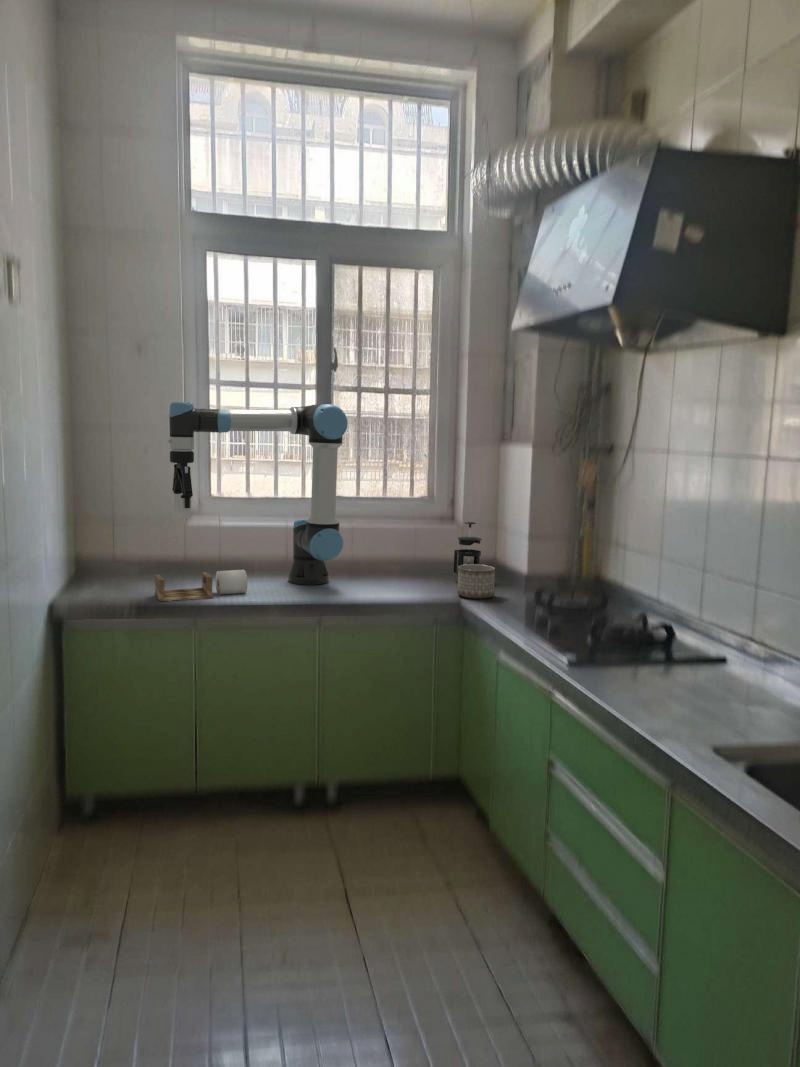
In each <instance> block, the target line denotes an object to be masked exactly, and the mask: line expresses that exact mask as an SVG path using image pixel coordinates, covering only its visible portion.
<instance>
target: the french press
mask: <svg viewBox="0 0 800 1067" xmlns="http://www.w3.org/2000/svg"><path fill="white" fill-rule="evenodd" d="M476 523H477V522H474V521H466V522H464V524H466V525H468V528H469V529H468V530H469V532H468V533H469V535H468V536H459V537H457V540H458V544H459V545H460V546H468V548H463V549H455V550H454V551H453V552H454V553H453V554H454V555H453V558H454V559H453V573H455V574H456V575H455V581H454V582H455V583H456V584H458V566H460V565H466V564H471V563H470V557H471V558H472V557H473V564H479V565H480V556H481V555H482V553H481V552H482V551H481V550H478V549H470V548H471V547H470V546H472V545H473V544H479V545H480V544H481V541H482V537H477V536H476V537H475V536H471V528H472V526H473V525H476ZM465 557H468V559H467V563H464V560H465V559H464V558H465Z"/></svg>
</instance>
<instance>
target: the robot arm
mask: <svg viewBox="0 0 800 1067" xmlns="http://www.w3.org/2000/svg"><path fill="white" fill-rule="evenodd" d="M168 418H169V439H168V440H167V443H169V449H170V451H169V462H170V463H172V464H173V479H172V480H173V481H172V489H171V490H172V492H173V514H176V515H177V514H181V517H182V518H181V519H192V497H193V496H194V494H193V486H192V477H191V466H188V464H193V463H194V462H195V452H194V451H193V450H194V449H195V434H194V433H218V434H220V433H221V434H222V433H229V432H289V433H290V434H292V435H303V436H308V444H309V445H310V447H311V448H312V466H311V467H312V470H311V472H312V473H311V498H310V499H311V501H310V502H311V505H310V506H311V508H310V517H308V518H307V519H296V520H295V521H294V522H293V528H292V531H293V533H292V535H293V537H292V538H293V540H292V542H293V543H292V550H293V552H292V563H291V566H290V569H289V572H288V576H287V582H289V583H290V584H296V585H309V586H310V585H312V586H313V585H314V586H315V585H324V584H327V583H330V573H329V570H328V567H327V564H326V562H328V561H331V560H334V559H335V558H337V557H338V556H339V555H340V554H341V552H342V550H343V548H344V538H343V536H342V534H341V533H340V521H339V519H338V518H337V517H336V511H337V510H336V506H337V505H336V503H337V482H338V481H337V480H338V477H337V475H338V451H339V448H340V447H341V446H342V445H343V437H344V434H345V433H346V431H347V429H348V426H349V425H348V422H349V421H348V418H347V415H346V413H345V411H343V409H341V408H340V406H336V405H335V404H334V405H333V404H331V403H327V404H326V403H325V404H324V403H323V404H318V403H316V404H311V405H306V406H291V407H290V408H289V409H251V408H250V409H249V408H248V409H241V408H239V409H237V408H235V409H234V408H233V409H231V408H230V409H229V408H224V409H223V408H222V409H221V408H195V406H194V403H193V402H191V401H190V402H189V401H187V402H186V401H171V403H170V404H169V414H168Z"/></svg>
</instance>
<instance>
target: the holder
mask: <svg viewBox="0 0 800 1067" xmlns="http://www.w3.org/2000/svg"><path fill="white" fill-rule="evenodd" d="M155 595H156V596H157V597H156V596H155ZM154 596H155V597H156V599H157V600H158V599H159V600H160V601H168V602H173V601H172V600H182V601H191V600H190V599H197V600H207V599H209V600H210V599H214V595H213V576H212V575H211V574H210V573H208V572H207V571H203V572H201V587H196V588H194V587H193V588H192V587H191V588H178V589H165V579H164V577H162V576H161V575H160V574H154ZM159 600H158V601H159ZM160 601H159V602H160Z"/></svg>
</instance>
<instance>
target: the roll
mask: <svg viewBox="0 0 800 1067" xmlns="http://www.w3.org/2000/svg"><path fill="white" fill-rule="evenodd" d="M248 583H249V582H248V576H247V571H246V570H245V569H233V570H232V569H231V570H229V569H228V570H219V571H218V570H217V571H216V573H215V590H216V594H217V595H219V596H221V595H233V594H235V595H236V594H246V593H247V592H248V591H247V590H248Z"/></svg>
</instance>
